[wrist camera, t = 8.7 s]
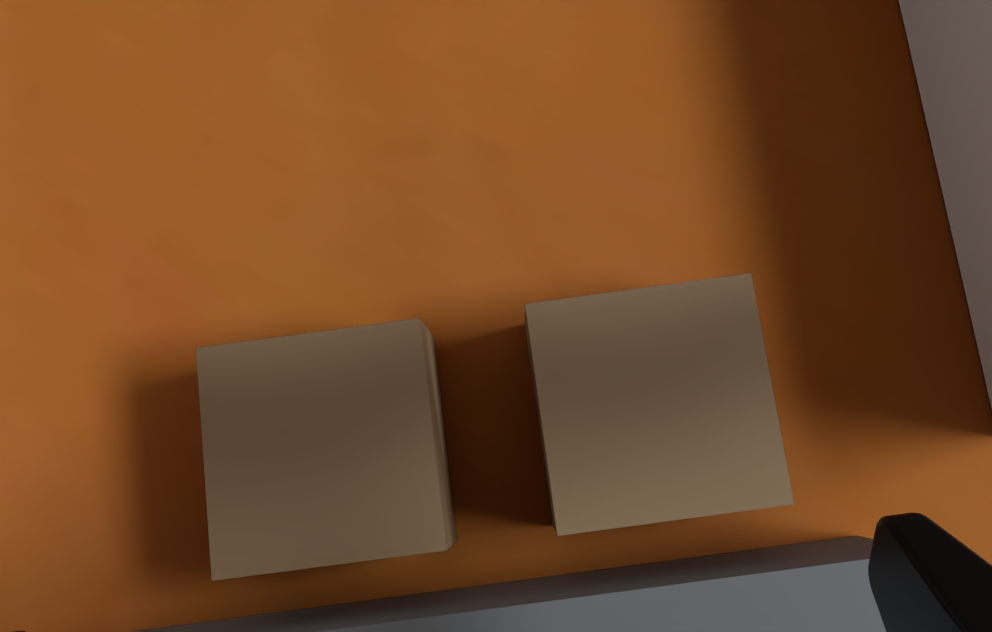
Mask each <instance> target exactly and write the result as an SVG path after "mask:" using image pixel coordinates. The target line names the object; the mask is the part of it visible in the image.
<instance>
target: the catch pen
mask: <svg viewBox="0 0 992 632" xmlns="http://www.w3.org/2000/svg"><path fill="white" fill-rule="evenodd" d="M899 4H900V9H901V13H902V17H903V22H904V26H905V30H906V35H907V39H908V44H909V48H910V52H911V57H912V61H913V66H914V70H915V74H916V79H917V83H918V88H919V92H920V96H921V101H922V105H923V110H924V114H925V118H926V123H927V127H928V131H929V136H930V140H931V145H932V149H933V153H934V158H935V162H936V167H937V171H938V175H939V180H940V184H941V189H942V193H943V197H944V202H945V206H946V211H947V215H948V219H949V224H950V228H951V232H952V237H953V241H954V246H955V250H956V254H957V259H958V263H959V268H960V272H961V276H962V281H963V285H964V290H965V294H966V298H967V303H968V307H969V312H970V316H971V320H972V325H973V329H974V333H975V338H976V342H977V347H978V351H979V355H980V360H981V364H982V369H983V373H984V377H985V382H986V386H987V391H988V395H989V399H990V404H991V408H992V0H899Z"/></svg>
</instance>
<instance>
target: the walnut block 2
mask: <svg viewBox="0 0 992 632" xmlns="http://www.w3.org/2000/svg"><path fill="white" fill-rule="evenodd" d="M525 329H526V336H527V343H528V351H529V358H530V365H531V372H532V379H533V386H534V393H535V401H536V408H537V415H538V422H539V429H540V436H541V443H542V451H543V458H544V465H545V472H546V479H547V486H548V494H549V501H550V508H551V515H552V522H553V527H554V529H555V532H556V534H557V536H561V535H569V534H576V533H584V532H591V531H599V530H606V529H614V528H621V527H629V526H636V525H644V524H651V523H659V522H666V521H674V520H681V519H689V518H696V517H704V516H711V515H719V514H726V513H734V512H741V511H748V510H756V509H763V508H771V507H778V506H786V505H793V504H794V501H793V495H792V490H791V484H790V479H789V474H788V468H787V463H786V457H785V452H784V447H783V441H782V436H781V431H780V425H779V420H778V414H777V409H776V404H775V398H774V393H773V388H772V382H771V377H770V371H769V366H768V361H767V355H766V350H765V345H764V339H763V334H762V328H761V323H760V318H759V312H758V307H757V302H756V296H755V291H754V285H753V280H752V275H751V273H749V274H741V275H734V276H726V277H719V278H712V279H704V280H697V281H690V282H682V283H675V284H668V285H660V286H653V287H646V288H638V289H631V290H623V291H616V292H609V293H601V294H594V295H587V296H579V297H572V298H565V299H557V300H550V301H543V302H535V303H528V304H525Z"/></svg>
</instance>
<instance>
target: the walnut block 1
mask: <svg viewBox="0 0 992 632" xmlns="http://www.w3.org/2000/svg"><path fill="white" fill-rule="evenodd" d="M196 358H197V373H198V388H199V402H200V417H201V431H202V446H203V461H204V475H205V490H206V504H207V519H208V534H209V548H210V563H211V578H212V581H215V580H223V579H231V578H238V577H246V576H254V575H262V574H269V573H277V572H285V571H293V570H300V569H308V568H316V567H324V566H331V565H339V564H347V563H355V562H362V561H370V560H378V559H386V558H393V557H401V556H409V555H417V554H424V553H432V552H440V551H447V550H448V549H449V548H450V547H451V546H452V545H453V544H454V543H455V542H456V541H457V540H458V539H457V530H456V522H455V513H454V505H453V496H452V488H451V479H450V471H449V462H448V454H447V445H446V436H445V428H444V419H443V411H442V402H441V394H440V385H439V377H438V368H437V360H436V351H435V343H434V337H433V335H432V334H431V333H430V331H429V330H428V328H427V327H426V326H425V324H424V323H423V322H422V320H421V319H420V318H417V319H409V320H402V321H394V322H387V323H379V324H372V325H364V326H357V327H349V328H342V329H334V330H326V331H319V332H311V333H304V334H296V335H289V336H281V337H274V338H266V339H259V340H251V341H244V342H236V343H229V344H221V345H214V346H206V347H199V348H196Z"/></svg>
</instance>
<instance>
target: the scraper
mask: <svg viewBox="0 0 992 632" xmlns="http://www.w3.org/2000/svg"><path fill="white" fill-rule="evenodd" d="M872 544H873V539H870V538H865V537H861V536H851V537H843V538H836V539H828V540H820V541H813V542H805V543H798V544H790V545H783V546H775V547H768V548H760V549H753V550H745V551H737V552H730V553H722V554H715V555H707V556H700V557H692V558H685V559H677V560H669V561H662V562H654V563H647V564H639V565H632V566H624V567H617V568H609V569H602V570H594V571H586V572H579V573H571V574H564V575H556V576H549V577H541V578H534V579H526V580H518V581H511V582H503V583H496V584H488V585H481V586H473V587H466V588H458V589H451V590H443V591H435V592H428V593H420V594H413V595H405V596H398V597H390V598H383V599H375V600H368V601H360V602H352V603H345V604H337V605H330V606H322V607H315V608H307V609H300V610H292V611H284V612H277V613H269V614H262V615H254V616H247V617H239V618H232V619H224V620H217V621H209V622H201V623H194V624H186V625H179V626H171V627H164V628H156V629H149V630H141V631H134V632H886V630H885V627H884V624H883V621H882V618H881V616H880V613H879V610H878V607H877V604H876V601H875V599H874V596H873V593H872V590H871V587H870V582H869V576H868V564H869V559H870V554H871V549H872Z"/></svg>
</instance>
